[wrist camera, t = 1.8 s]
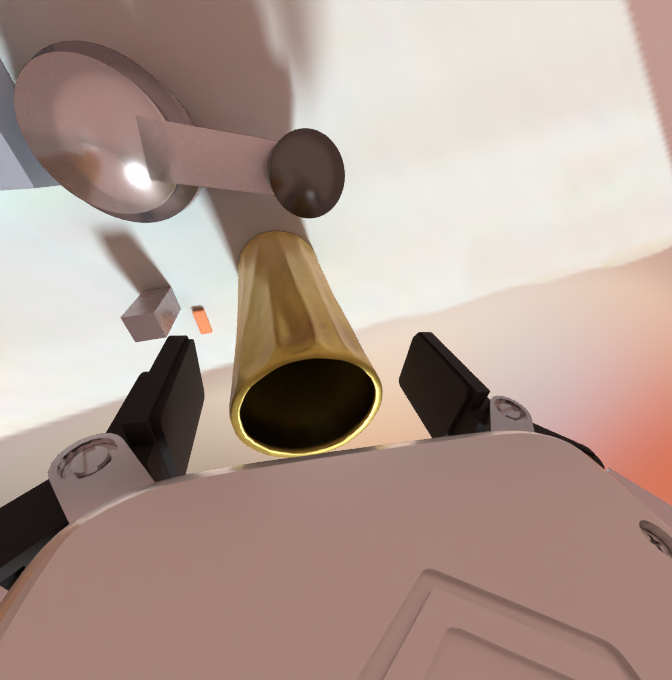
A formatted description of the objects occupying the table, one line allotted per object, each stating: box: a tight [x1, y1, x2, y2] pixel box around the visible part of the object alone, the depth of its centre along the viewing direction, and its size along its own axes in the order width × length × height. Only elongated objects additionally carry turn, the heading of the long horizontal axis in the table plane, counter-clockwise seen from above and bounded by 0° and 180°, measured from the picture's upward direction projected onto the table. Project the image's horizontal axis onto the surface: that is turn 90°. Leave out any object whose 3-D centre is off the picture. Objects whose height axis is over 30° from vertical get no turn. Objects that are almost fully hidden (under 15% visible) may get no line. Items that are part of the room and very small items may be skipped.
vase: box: [229, 231, 382, 458], centre depth 14 cm, size 6×6×14 cm
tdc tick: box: [193, 309, 212, 334], centre depth 21 cm, size 1×2×1 cm, turn 3°
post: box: [121, 287, 180, 342], centre depth 18 cm, size 2×2×4 cm
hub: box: [32, 41, 201, 223], centre depth 14 cm, size 7×7×2 cm
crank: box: [14, 52, 345, 218], centre depth 10 cm, size 12×6×8 cm, turn 82°
